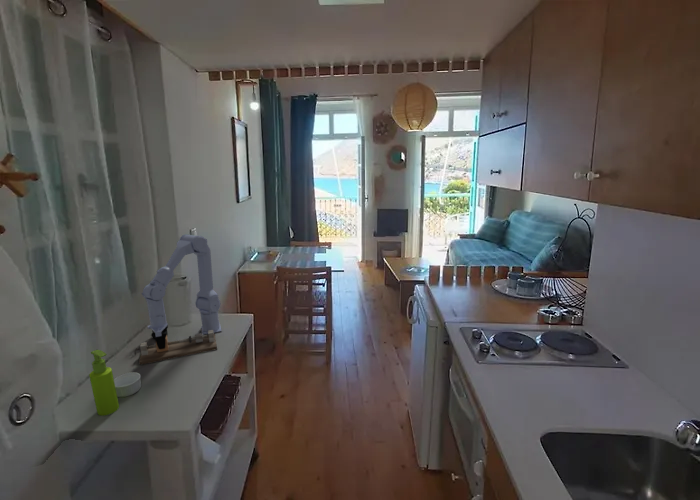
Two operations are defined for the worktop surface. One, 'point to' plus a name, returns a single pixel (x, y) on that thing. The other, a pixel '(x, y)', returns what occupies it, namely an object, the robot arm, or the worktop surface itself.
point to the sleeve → (165, 346)
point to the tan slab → (179, 348)
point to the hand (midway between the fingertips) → (162, 346)
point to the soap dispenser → (103, 385)
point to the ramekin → (127, 384)
